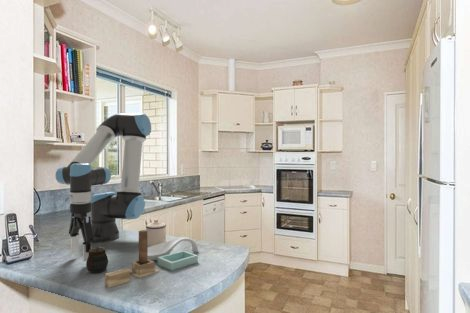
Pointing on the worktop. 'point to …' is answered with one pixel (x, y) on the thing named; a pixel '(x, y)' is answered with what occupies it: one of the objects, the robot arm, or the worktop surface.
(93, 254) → the mate gourd
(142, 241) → the dowel
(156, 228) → the beige lidded jar
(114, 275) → the block
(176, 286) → the worktop surface
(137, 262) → the socket block
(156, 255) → the spoon rest
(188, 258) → the tray
